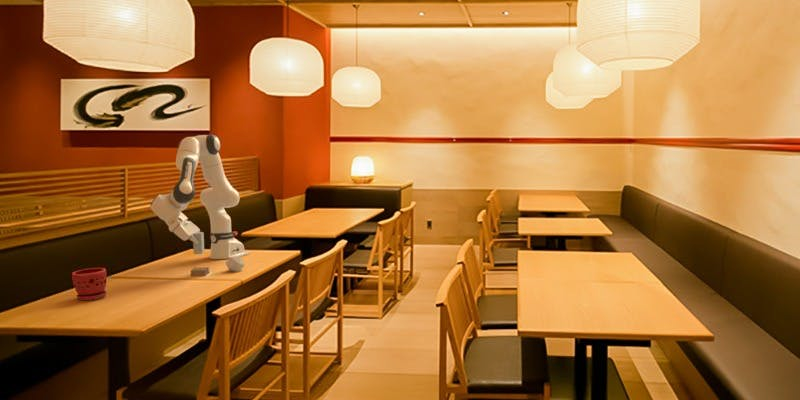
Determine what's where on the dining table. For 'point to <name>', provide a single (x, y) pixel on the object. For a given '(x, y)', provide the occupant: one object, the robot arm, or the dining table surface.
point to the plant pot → (90, 283)
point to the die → (235, 263)
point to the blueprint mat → (200, 276)
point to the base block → (200, 271)
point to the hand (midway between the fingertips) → (200, 242)
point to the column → (200, 246)
